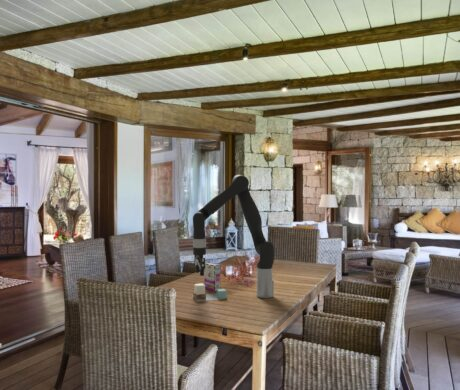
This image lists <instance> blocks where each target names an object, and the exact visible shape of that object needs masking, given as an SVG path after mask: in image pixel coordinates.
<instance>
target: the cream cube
mask: <svg viewBox="0 0 460 390" xmlns="http://www.w3.org/2000/svg"><path fill="white" fill-rule="evenodd" d="M193 288H194V290H193V291H194V293H195V294H197V295H199V294H206V288H205V285H204V282H201V283H194V286H193Z"/></svg>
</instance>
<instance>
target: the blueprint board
mask: <svg viewBox="0 0 460 390" xmlns="http://www.w3.org/2000/svg"><path fill="white" fill-rule="evenodd" d="M205 294H206V299H203V300H195V299H194V300H195V301H196V302H209V301H217V300H220V299H219V298H217V292H216V293H205ZM191 298H193V295H191ZM223 300H226V298H224V299H223Z"/></svg>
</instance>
